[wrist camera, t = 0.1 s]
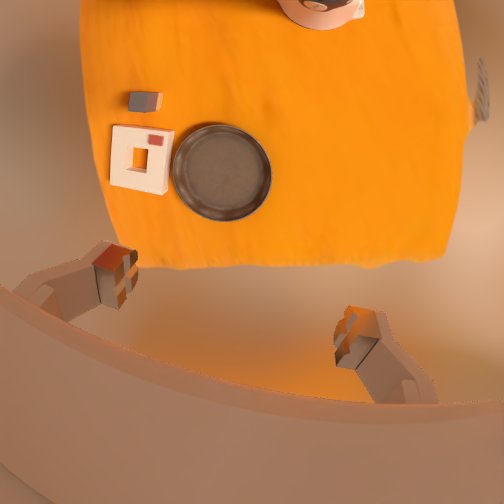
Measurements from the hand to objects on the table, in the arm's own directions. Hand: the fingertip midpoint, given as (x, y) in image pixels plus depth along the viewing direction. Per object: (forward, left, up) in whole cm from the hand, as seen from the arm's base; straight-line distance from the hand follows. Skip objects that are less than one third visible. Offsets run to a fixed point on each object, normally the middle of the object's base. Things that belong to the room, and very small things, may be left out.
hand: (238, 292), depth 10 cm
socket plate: (+10, -29, -48) cm, 57 cm away
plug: (-3, -28, -48) cm, 56 cm away
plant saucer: (+10, -10, -48) cm, 50 cm away
